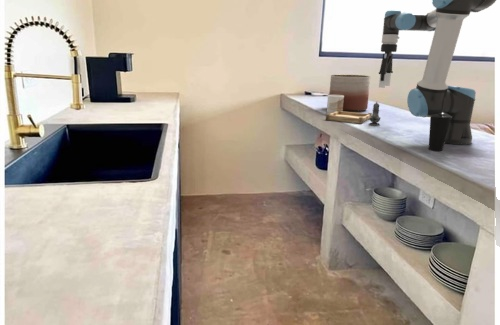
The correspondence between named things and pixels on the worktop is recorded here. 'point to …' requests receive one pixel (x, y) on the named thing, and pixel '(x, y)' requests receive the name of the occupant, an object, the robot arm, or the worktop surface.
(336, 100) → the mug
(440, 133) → the drinking cup
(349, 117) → the golden square tray
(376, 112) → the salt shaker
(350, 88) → the planter
